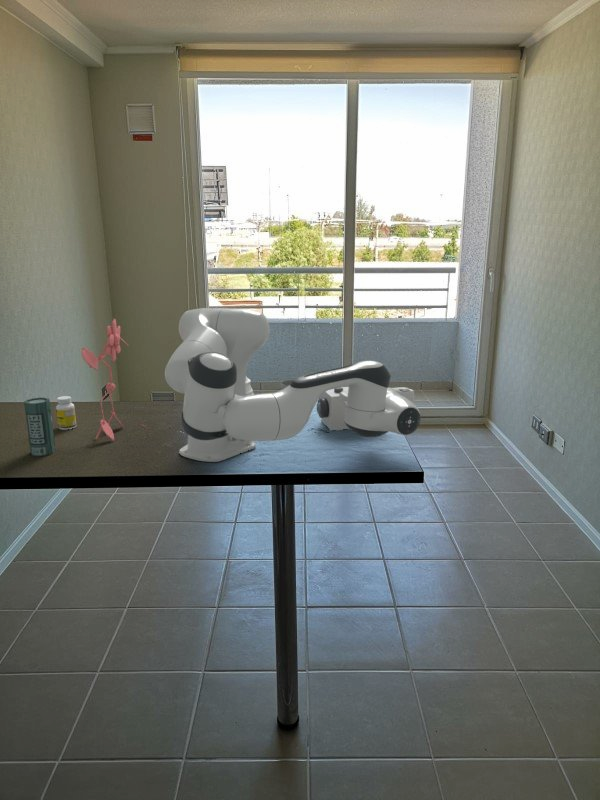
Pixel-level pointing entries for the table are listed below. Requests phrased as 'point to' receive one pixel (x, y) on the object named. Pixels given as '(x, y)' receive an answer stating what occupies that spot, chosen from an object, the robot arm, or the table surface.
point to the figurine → (92, 361)
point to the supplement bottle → (65, 413)
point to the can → (39, 426)
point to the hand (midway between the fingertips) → (366, 390)
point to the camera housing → (332, 409)
